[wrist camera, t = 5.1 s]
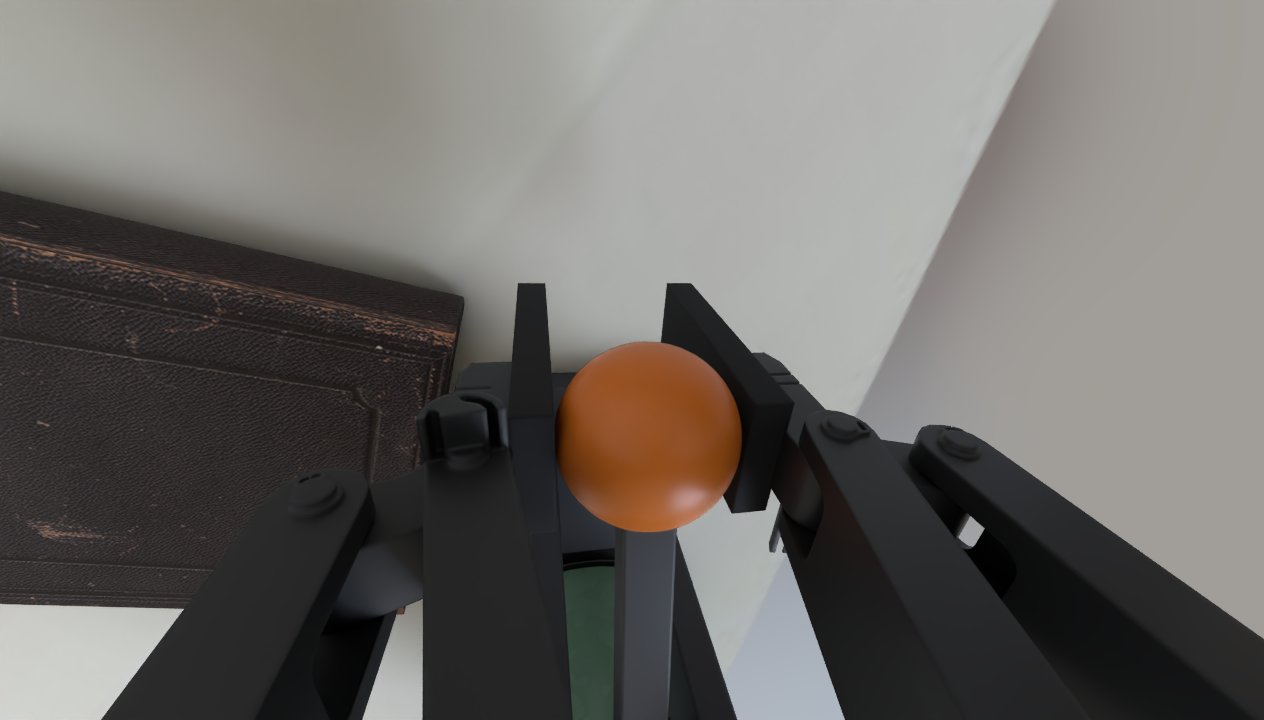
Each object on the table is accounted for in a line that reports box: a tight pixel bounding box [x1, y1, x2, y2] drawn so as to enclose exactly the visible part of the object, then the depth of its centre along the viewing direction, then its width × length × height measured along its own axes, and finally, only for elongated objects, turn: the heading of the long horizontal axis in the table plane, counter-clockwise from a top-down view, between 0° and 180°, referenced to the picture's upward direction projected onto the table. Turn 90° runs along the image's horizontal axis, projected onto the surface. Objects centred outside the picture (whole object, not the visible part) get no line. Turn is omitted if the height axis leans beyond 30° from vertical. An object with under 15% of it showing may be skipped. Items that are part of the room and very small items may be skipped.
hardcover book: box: [0, 191, 464, 614], centre depth 16 cm, size 16×23×2 cm
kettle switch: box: [555, 342, 742, 720], centre depth 10 cm, size 13×4×4 cm, turn 176°
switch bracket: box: [529, 373, 737, 720], centre depth 16 cm, size 10×8×15 cm
